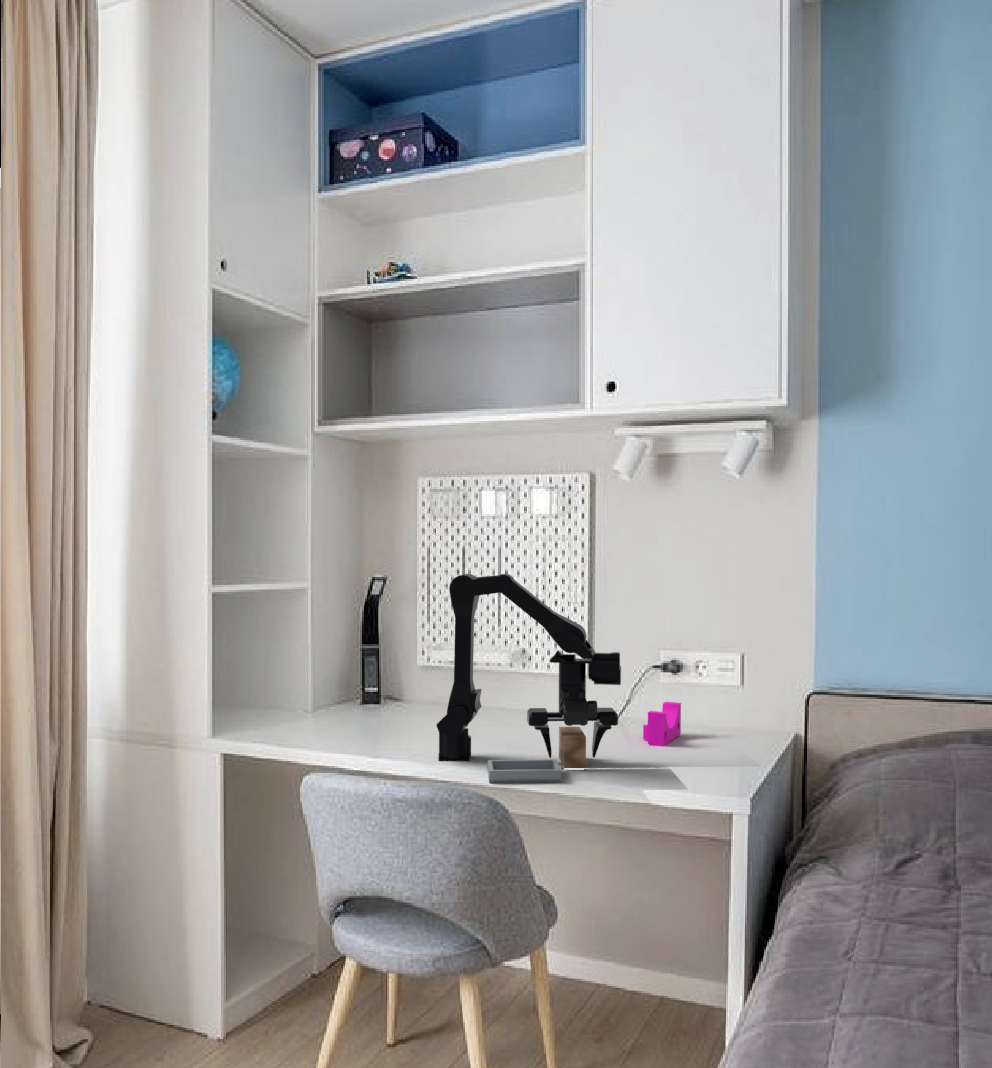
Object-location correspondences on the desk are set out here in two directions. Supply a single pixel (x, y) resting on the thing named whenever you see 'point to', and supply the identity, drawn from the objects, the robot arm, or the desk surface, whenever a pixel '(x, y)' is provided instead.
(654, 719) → the toy block
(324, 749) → the desk surface
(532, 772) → the slot tray
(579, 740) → the walnut block
